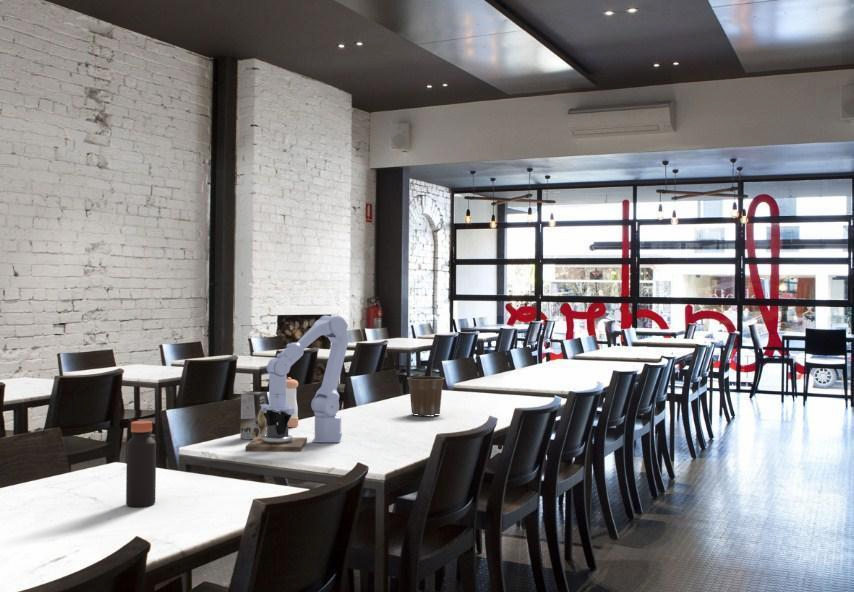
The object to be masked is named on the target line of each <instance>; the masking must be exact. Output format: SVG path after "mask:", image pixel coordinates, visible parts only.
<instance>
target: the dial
mask: <svg viewBox="0 0 854 592" xmlns="http://www.w3.org/2000/svg"><path fill="white" fill-rule="evenodd" d="M292 437H293V436H292V435H290V434H289V428H288V424H287V427H286V430H285V434H283V435H279V434H278V424H277V425H268V424H266V436H263V437H262V439H257V441H262V442H263V443H269V444H283V443H290V442H292Z"/></svg>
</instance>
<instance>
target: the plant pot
mask: <svg viewBox="0 0 854 592" xmlns="http://www.w3.org/2000/svg"><path fill="white" fill-rule="evenodd" d="M406 379H407V383H408V387H409V396H410V407H411V408H410V409H411V414H412V413H413V414H418V415H422V416H423V415H435V414H441V404H442V403H441V402H442V394H443V393H442V392H443V387H444V380H445V377H443V376H428V375H427V376H411V377H410V376H409V377H407V378H406Z"/></svg>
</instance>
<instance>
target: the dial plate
mask: <svg viewBox="0 0 854 592" xmlns="http://www.w3.org/2000/svg"><path fill="white" fill-rule="evenodd" d="M257 439H262V437H255V438H254V439H253V440H250V442H249V443H248V444H246V445H245V450H246V451H245V452H301V451H303V449H304V447H305V446H306V444H307V443H308V437H293V436H292V442H290V443H283V444H269V443H263V442H262V441H257Z"/></svg>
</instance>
